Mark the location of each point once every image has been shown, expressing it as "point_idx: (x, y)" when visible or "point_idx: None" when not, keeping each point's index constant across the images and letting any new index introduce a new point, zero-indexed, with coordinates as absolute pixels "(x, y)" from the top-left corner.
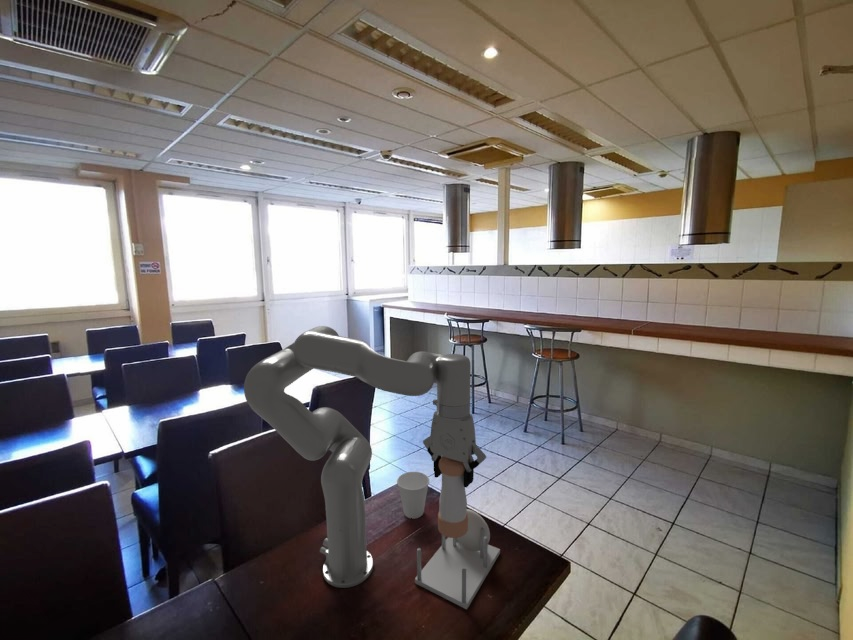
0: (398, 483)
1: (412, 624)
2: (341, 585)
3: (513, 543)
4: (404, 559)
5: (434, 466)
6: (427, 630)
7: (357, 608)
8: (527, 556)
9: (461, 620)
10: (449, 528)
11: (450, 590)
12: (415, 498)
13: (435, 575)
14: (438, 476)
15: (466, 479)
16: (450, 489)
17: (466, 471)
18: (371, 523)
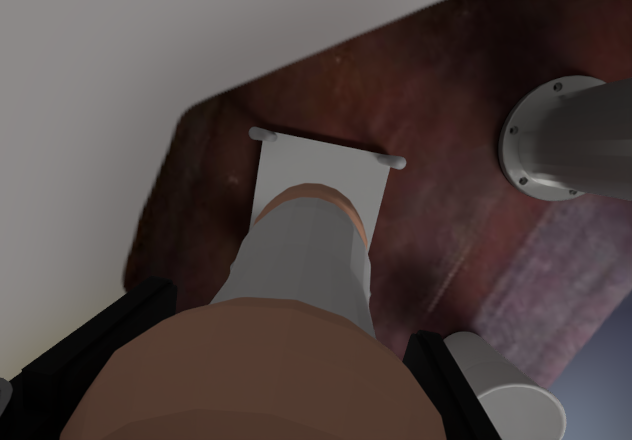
0: (556, 402)
1: (360, 54)
2: (556, 79)
3: None
4: (434, 210)
5: (484, 410)
6: (326, 53)
7: (491, 45)
8: (188, 301)
9: (269, 102)
10: (304, 187)
11: (307, 153)
12: (475, 368)
13: (350, 181)
14: (407, 346)
15: (104, 313)
16: (284, 253)
17: (24, 381)
18: (552, 289)
